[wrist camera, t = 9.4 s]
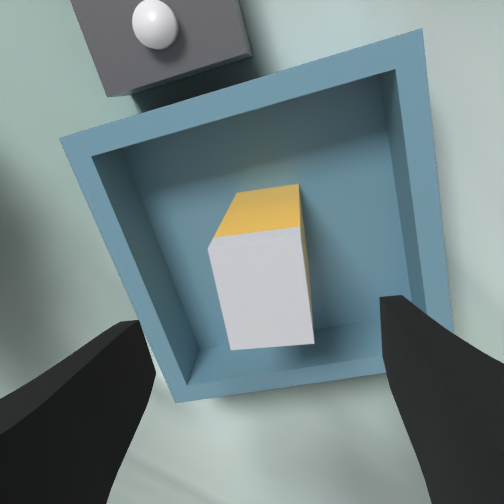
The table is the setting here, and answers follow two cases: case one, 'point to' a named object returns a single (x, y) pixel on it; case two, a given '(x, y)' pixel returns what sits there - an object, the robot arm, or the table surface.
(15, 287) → the table surface
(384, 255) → the parts tray
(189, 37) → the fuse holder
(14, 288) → the table surface
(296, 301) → the block
